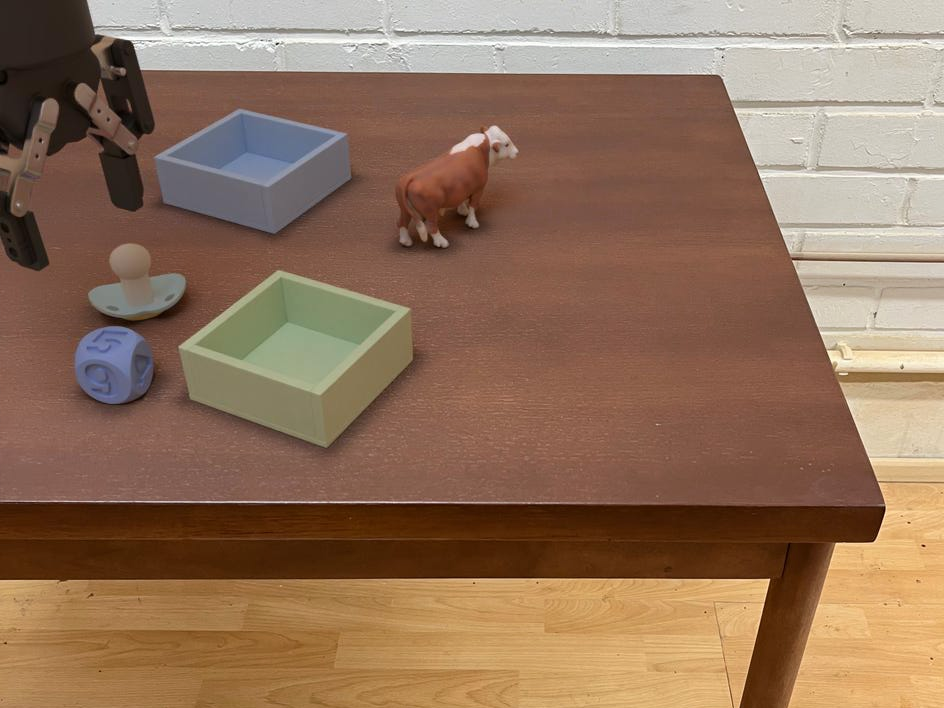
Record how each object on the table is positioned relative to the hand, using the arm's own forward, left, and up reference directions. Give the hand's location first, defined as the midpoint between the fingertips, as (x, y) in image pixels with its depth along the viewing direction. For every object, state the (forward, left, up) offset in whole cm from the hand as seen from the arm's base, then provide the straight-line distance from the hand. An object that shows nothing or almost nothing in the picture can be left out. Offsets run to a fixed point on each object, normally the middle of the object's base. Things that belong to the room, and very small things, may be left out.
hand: (83, 235), depth 64 cm
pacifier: (-6, +9, -12) cm, 16 cm away
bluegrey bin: (-10, +30, -12) cm, 34 cm away
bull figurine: (+10, +32, -12) cm, 35 cm away
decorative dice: (0, 0, -12) cm, 12 cm away
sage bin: (+11, +7, -12) cm, 18 cm away
